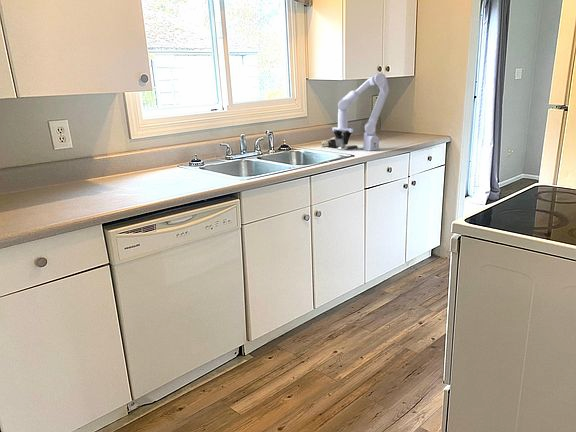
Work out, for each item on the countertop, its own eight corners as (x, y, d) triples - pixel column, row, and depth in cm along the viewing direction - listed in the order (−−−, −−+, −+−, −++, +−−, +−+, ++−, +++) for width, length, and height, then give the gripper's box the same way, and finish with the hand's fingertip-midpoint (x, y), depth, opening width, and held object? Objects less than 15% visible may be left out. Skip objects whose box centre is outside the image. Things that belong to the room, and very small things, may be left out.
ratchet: (341, 150, 277) (341, 143, 276) (335, 149, 282) (335, 142, 281) (358, 148, 283) (359, 141, 282) (353, 147, 288) (353, 140, 287)
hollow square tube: (348, 143, 280) (346, 135, 277) (342, 147, 277) (341, 139, 274) (341, 142, 283) (340, 134, 280) (336, 146, 280) (334, 138, 278)
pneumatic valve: (322, 145, 299) (341, 144, 297) (320, 149, 288) (340, 148, 286) (322, 137, 297) (340, 136, 295) (320, 140, 287) (339, 139, 284)
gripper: (329, 120, 278) (329, 143, 282) (347, 121, 268) (347, 145, 272) (336, 119, 283) (336, 141, 287) (355, 120, 273) (355, 144, 277)
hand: (342, 143), depth 280 cm, fingers closed on hollow square tube, 5 cm apart
